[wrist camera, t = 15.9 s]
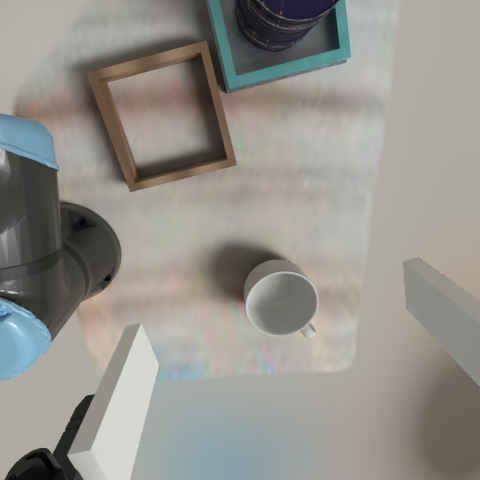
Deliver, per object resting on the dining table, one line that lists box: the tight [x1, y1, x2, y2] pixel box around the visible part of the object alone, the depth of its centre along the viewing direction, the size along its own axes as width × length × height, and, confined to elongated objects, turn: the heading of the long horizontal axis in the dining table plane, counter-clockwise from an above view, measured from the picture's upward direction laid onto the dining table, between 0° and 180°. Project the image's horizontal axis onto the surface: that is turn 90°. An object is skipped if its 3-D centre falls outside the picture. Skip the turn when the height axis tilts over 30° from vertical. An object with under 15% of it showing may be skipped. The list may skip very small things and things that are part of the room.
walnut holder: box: [86, 40, 237, 192], centre depth 44 cm, size 15×15×4 cm
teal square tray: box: [205, 0, 351, 94], centre depth 40 cm, size 16×16×4 cm
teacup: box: [244, 259, 319, 339], centre depth 52 cm, size 14×11×8 cm
